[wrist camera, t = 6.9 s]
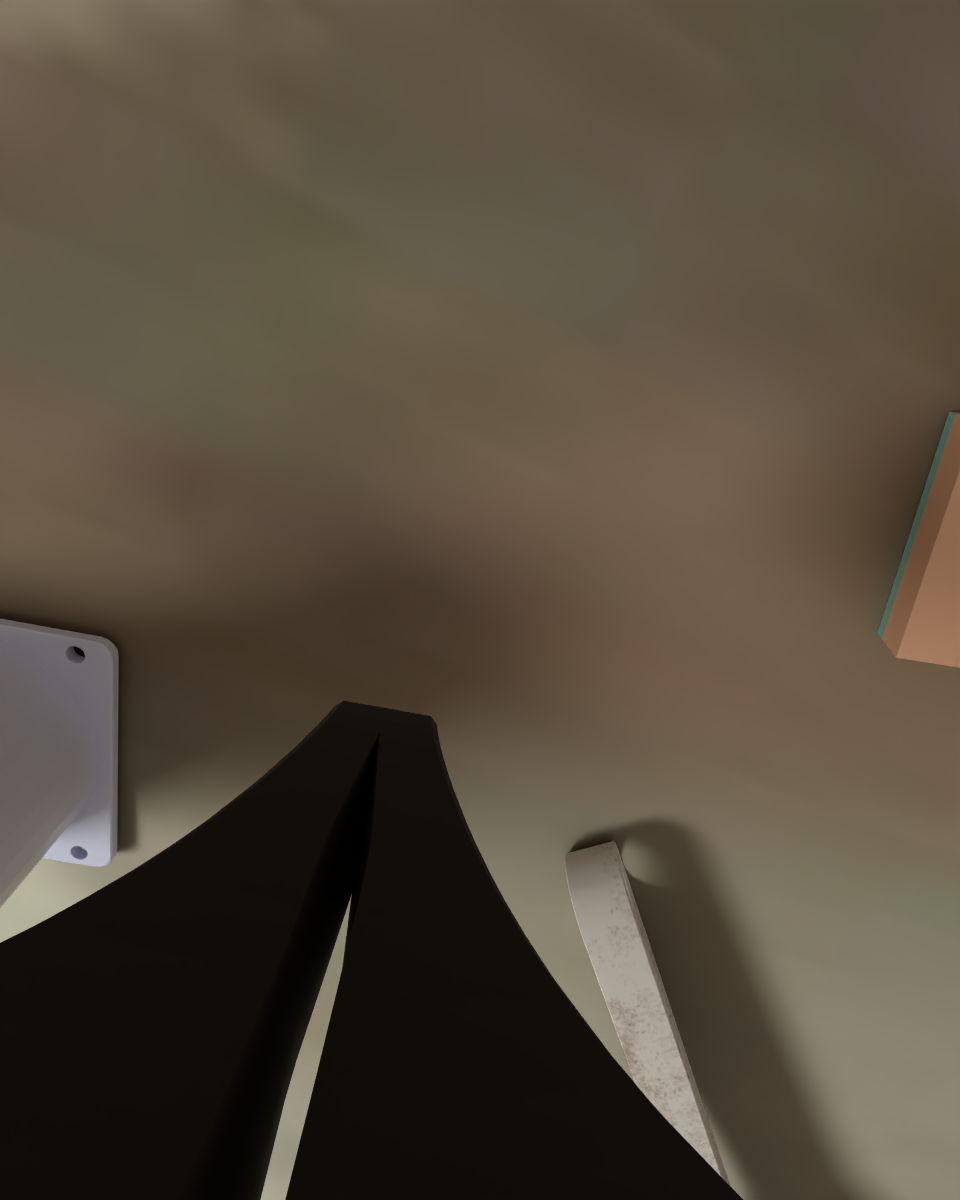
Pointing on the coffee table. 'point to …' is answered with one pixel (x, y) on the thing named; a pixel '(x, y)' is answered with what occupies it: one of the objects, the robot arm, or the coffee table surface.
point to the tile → (930, 567)
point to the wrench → (636, 993)
